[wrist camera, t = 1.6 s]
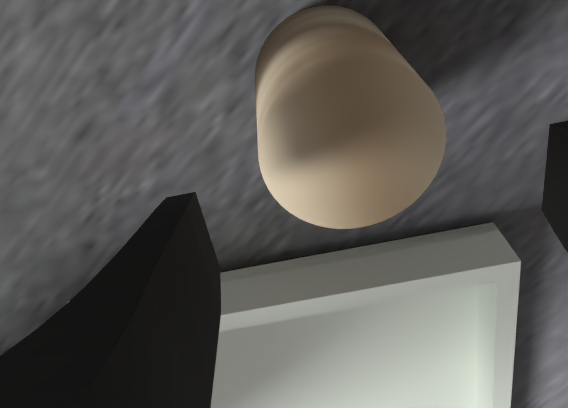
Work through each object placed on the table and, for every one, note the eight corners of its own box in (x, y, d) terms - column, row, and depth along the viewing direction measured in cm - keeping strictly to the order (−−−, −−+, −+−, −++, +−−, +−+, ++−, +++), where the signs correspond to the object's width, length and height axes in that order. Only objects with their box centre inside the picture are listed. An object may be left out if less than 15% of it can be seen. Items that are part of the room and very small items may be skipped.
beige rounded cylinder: (269, 151, 19) (278, 243, 14) (240, 22, 16) (239, 80, 12) (397, 127, 19) (448, 211, 14) (387, -9, 16) (444, 38, 12)
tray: (166, 481, 29) (160, 529, 27) (67, 300, 22) (48, 346, 20) (486, 428, 28) (505, 473, 26) (493, 222, 21) (520, 260, 19)
